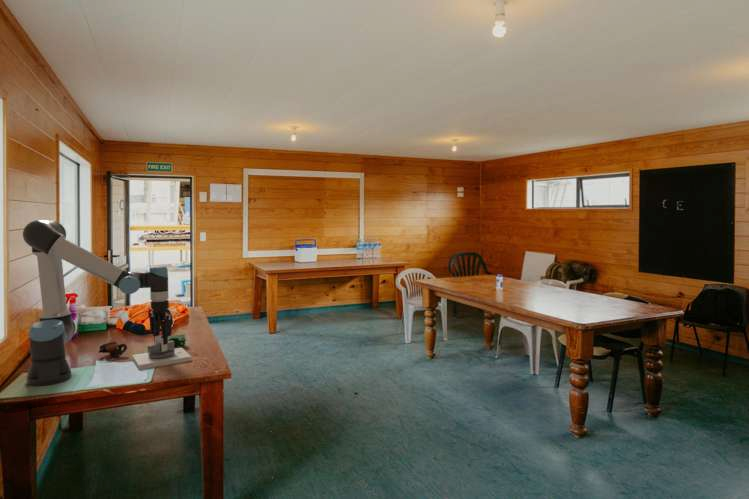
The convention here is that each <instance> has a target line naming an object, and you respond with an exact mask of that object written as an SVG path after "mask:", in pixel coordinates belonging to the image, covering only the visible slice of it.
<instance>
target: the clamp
mask: <svg viewBox="0 0 749 499" xmlns="http://www.w3.org/2000/svg"><path fill="white" fill-rule="evenodd" d="M186 339H187V338H186V336H185V334H184V333H182V334H175V335H174V334H173V335H171V336H168V342H169V341H174V348H181V347H184V346H185V345H186V341H187V340H186Z"/></svg>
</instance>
